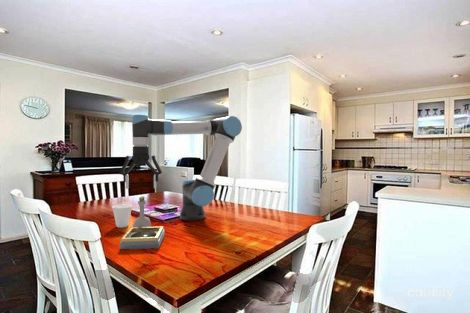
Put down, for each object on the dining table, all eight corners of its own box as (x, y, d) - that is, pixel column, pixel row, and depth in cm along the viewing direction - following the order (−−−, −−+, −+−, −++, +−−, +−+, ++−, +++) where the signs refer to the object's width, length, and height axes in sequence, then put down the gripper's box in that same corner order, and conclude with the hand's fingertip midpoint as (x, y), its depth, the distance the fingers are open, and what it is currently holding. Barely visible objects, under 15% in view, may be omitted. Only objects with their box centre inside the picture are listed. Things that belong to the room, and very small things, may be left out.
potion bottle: (154, 230, 135) (154, 195, 134) (143, 235, 126) (143, 199, 125) (141, 228, 138) (140, 194, 137) (129, 233, 129) (128, 197, 128)
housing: (164, 235, 127) (164, 226, 127) (158, 248, 111) (158, 237, 111) (130, 236, 125) (130, 227, 125) (119, 249, 110) (119, 239, 109)
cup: (125, 229, 136) (124, 208, 135) (108, 228, 138) (107, 207, 137) (135, 223, 145) (135, 204, 145) (120, 222, 147) (119, 203, 147)
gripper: (167, 145, 135) (167, 186, 136) (117, 145, 132) (118, 187, 133) (165, 146, 127) (165, 189, 128) (111, 145, 125) (112, 189, 126)
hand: (141, 188), depth 131 cm, fingers open, 13 cm apart
